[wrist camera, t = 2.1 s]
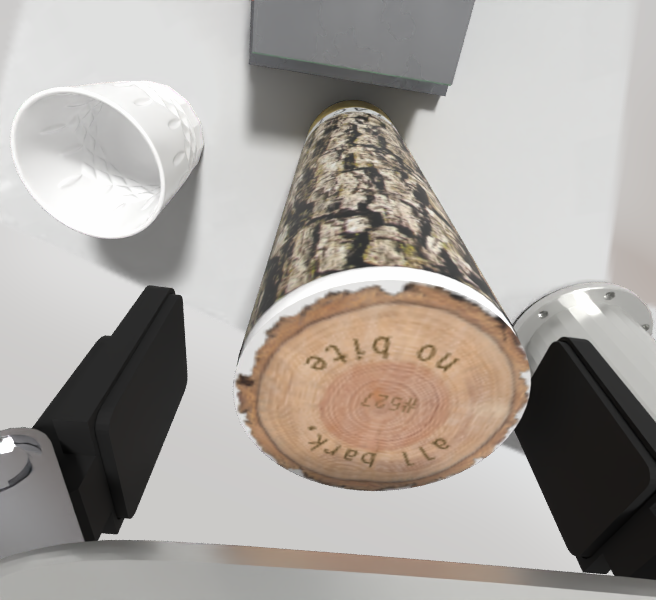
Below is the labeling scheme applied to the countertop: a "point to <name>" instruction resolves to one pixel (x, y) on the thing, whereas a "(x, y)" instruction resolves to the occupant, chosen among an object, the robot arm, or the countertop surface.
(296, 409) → the paper tube
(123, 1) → the countertop surface
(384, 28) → the stand
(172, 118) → the white cup
